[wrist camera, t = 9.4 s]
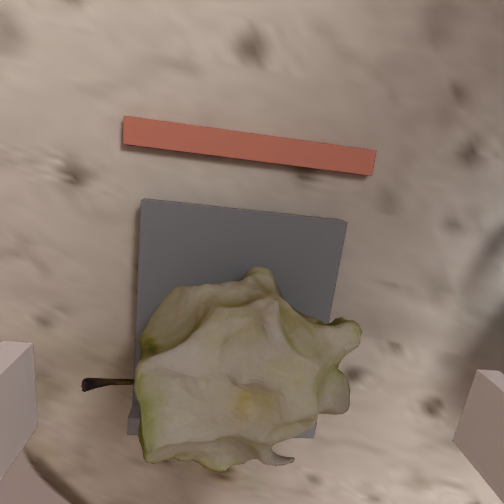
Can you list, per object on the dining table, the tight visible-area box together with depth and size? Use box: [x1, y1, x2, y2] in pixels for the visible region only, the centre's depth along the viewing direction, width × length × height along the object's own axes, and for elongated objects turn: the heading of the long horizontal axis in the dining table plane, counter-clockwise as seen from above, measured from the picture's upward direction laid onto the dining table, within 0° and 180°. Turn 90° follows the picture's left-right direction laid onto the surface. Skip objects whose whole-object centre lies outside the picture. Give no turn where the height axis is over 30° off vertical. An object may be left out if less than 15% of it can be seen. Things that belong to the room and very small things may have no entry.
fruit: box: [81, 267, 362, 472], centre depth 14 cm, size 9×9×8 cm
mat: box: [127, 199, 347, 438], centre depth 17 cm, size 12×10×2 cm
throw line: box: [123, 116, 377, 175], centre depth 16 cm, size 1×12×1 cm, turn 83°
